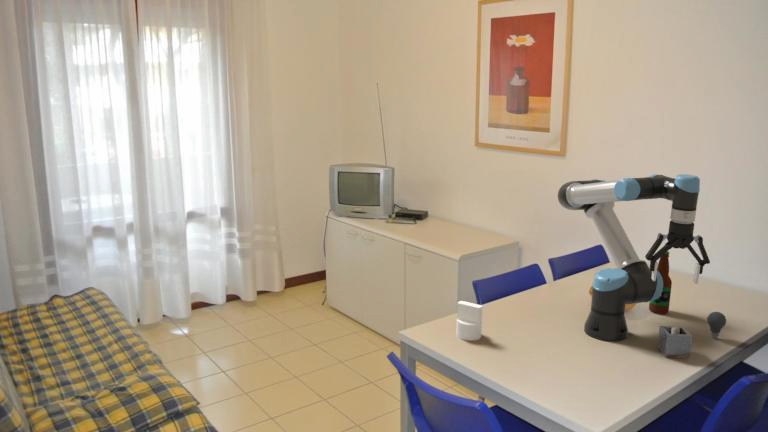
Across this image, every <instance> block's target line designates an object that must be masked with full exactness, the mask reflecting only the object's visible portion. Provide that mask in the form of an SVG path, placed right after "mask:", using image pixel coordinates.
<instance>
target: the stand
mask: <svg viewBox="0 0 768 432" xmlns="http://www.w3.org/2000/svg"><path fill="white" fill-rule="evenodd" d="M677 327H678V326H677ZM677 327H672V329H671V334H679V333H680V329H679V328H677ZM658 349H659V350H660V352H661V353H662V354H663V356H664V358H675V359H676V358H677V359H688V356H685V355H665V354H664V353H663V351H662V350H661V348H660V347H659V346H658Z"/></svg>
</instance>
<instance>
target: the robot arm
mask: <svg viewBox="0 0 768 432" xmlns="http://www.w3.org/2000/svg"><path fill="white" fill-rule="evenodd" d="M700 181H701V179H700V177H698V176H696V175H693V174H686V173H685V174H684V173H683V174H678V175H675V178H674V177H670V176H666V175H663V174H656V173H655V174H654V173H653V174H651V175H650V176H647V177H633V178H631V177H625V178H622V179H616V180H608V181H607V180H604V179H596V178H595V179H591V180H590V179H589V180H573V181H568V182H565V183H564V184H562V185H561V187H560V188H559V190H558V191H557V199H558V203H559V204H560V205H561V207H563V208H565V209H566V210H569V211H583V212H584V214H585V216H586V217H587V218H588V219H592V221H593V222H594V225H595V227H596V229H597V231H598V233H599V235H600V236H601V239H602V241H603V242H604V245H605V247H606V249H607V250H608V253H609V254H610V256H611V258H612V260H613V263H614V265H615V266H616V268H615V267H614V268H611V267H610V268H609V267H608V268H603V269H600V270H598V271H596V272H595V273H594V276H593V281H592V289H591V290H592V292H591V301H590V302H591V303H590V312H589V313H588V315H587V318H586V320H585V322H584V327H583V331H584V332H585V334H586V335H587V336H589V337H592V338H595V339H598V340H602V341H611V342H612V341H613V342H615V341H616V342H617V341H623V340H624V339H626V338H628V335H629V329H628V325H627V321H626V316H625V310H626V305H633V304H640V303H649V302H650V301H653V300H656V299H657V298H658V297H659V296H660V295H661V293H662V288H663V279H662V276H661V274H660V273H659V272H658V271H657V267H658V263H659V262H658V260H660V257H661V256H663V255H664V254H665V253H666V252H667V251H668V252H669V250H671V249H673V248H674V249H682V250H685V249H688V251H689V252H690V253H691V255H692V256H693V257H694V258H695V260H696V261H697V262H695V265H694V273H693V279H692V282H693V283H694V284H696V285H698V284H699V279H700V275H702V274H703V272H704V271H703V270H704V267H705V266H706V265H709V264H710V263H711V260H710V258H709V256H708V253H707V251H706V247H705V245H704V243H703V241H704V238H703V237H702V236H701V235H700V234H698V235H696V236H694V231H695V230H694V229H695V223H694V222H695V220H696V213H697V206H698V200H699V193H700V184H701V183H700ZM655 199H656V200H657V199H664V200H668V201H671V210H670V221H669V225H668V233H667V234H662V233H661V232H658V234H657V237H656V239H655V241H654V242H653V244H652V245H651V247H650V249H649V250H648V251H647V253H646V254H645V256H644V258H645V259H646V261H649V265H648V264H647V262H646V261H645V260H642V259H640V258H639V256H638V254H637V252H636V249H635V248H634V246H633V244H632V243H631V240H630V239H629V237H628V235H627V233H626V230H625V229H624V228H623V226H622V224H621V222H620V220H619V218H618V216H617V214H616V212H615V211H614V210H615V209H614V207H615V202H631V201H641V200H655ZM665 240H667V242H666V243H664V245H663V246H662V247H661V248H660V246H661V245H662V244H663V242H664V241H665ZM693 241H694V242H695V243H696V244H697V247H698V249H699V252H700V254H701V256H702V259H701V257H700V256H699V254H698V253H697V252H696V250H695V249H694V247H692V245H691V244H692V243H693ZM659 248H660V249H659ZM658 249H659V250H658Z"/></svg>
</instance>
